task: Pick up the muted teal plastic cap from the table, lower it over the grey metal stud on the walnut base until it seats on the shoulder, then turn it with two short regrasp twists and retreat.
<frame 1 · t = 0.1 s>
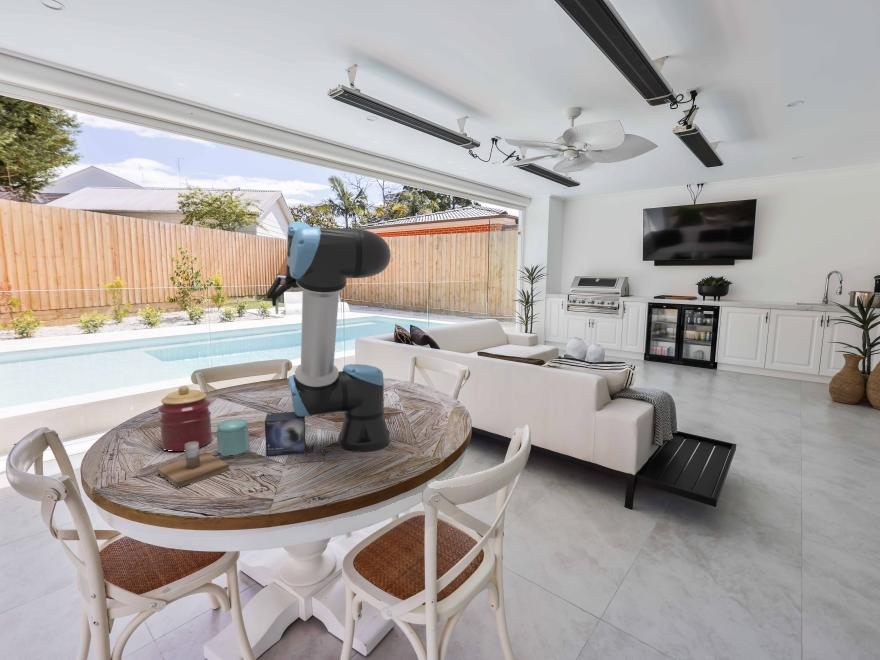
hand: (295, 311, 160), 36 cm above the table, tool tilted 35°, fingers open, 13 cm apart
small box: (286, 451, 120), on the table
canister: (187, 444, 124), on the table
post: (193, 471, 107), on the table
cap: (233, 450, 120), on the table
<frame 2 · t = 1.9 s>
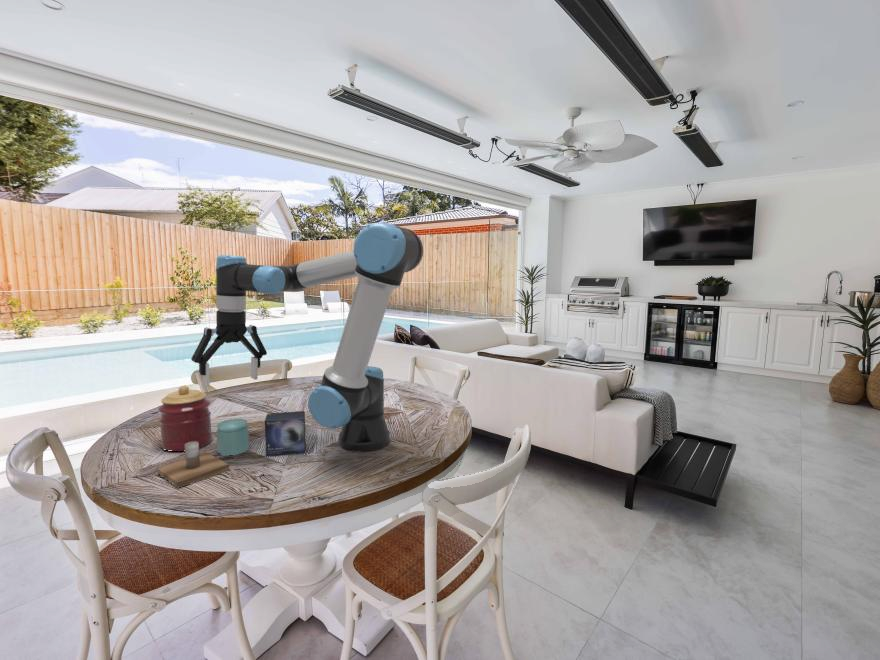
hand: (231, 382, 123), 18 cm above the table, tool pointing down, fingers open, 13 cm apart
nothing on the table moved.
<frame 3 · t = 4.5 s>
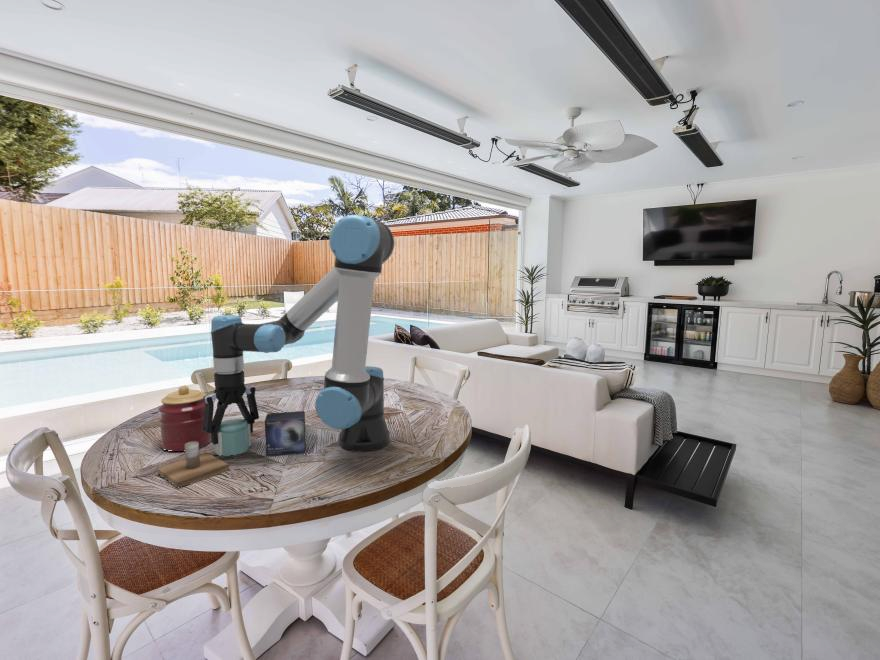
hand: (233, 449, 120), 0 cm above the table, tool pointing down, fingers closed on cap, 7 cm apart
cap: (233, 450, 120), on the table, touching gripper
everything else where it was.
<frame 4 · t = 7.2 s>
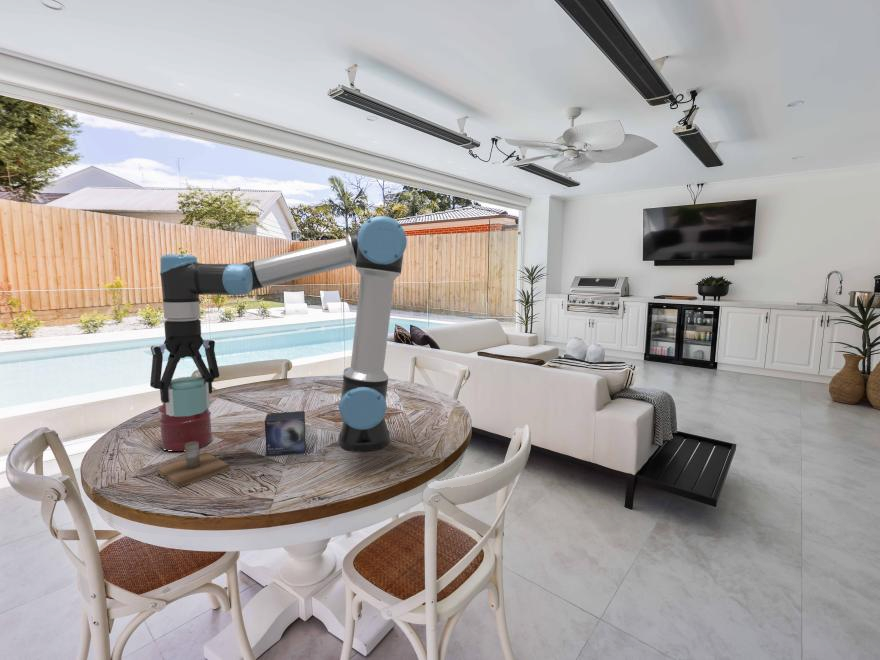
hand: (188, 410, 105), 16 cm above the table, tool pointing down, fingers closed on cap, 7 cm apart
cap: (188, 411, 105), point 16 cm above the table, touching gripper
everything else where it was.
when the fingers open (3 cm above the table, at t = 9.7 s): cap stays where it is, resting on post.
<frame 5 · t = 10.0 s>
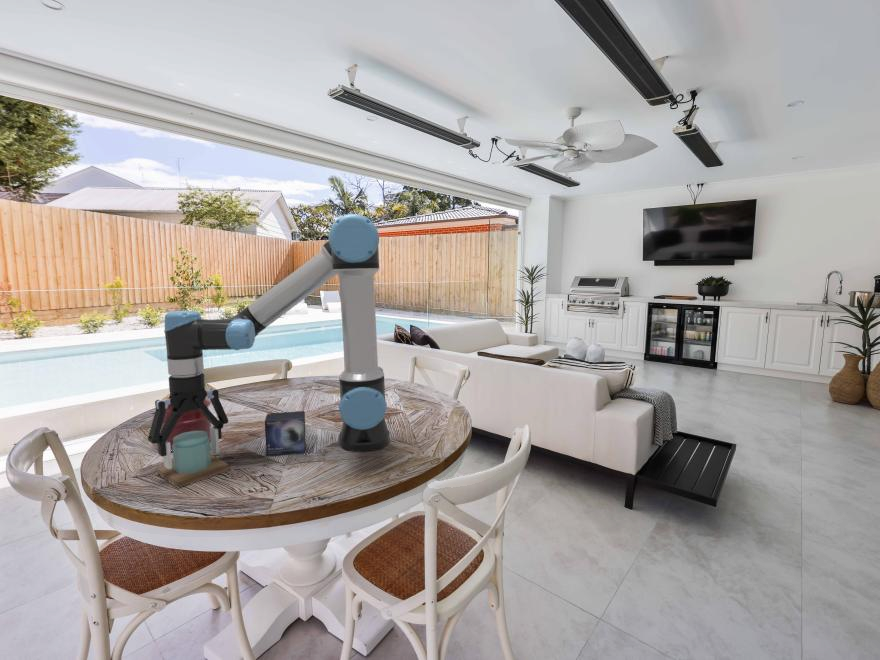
hand: (192, 459, 106), 3 cm above the table, tool pointing down, fingers open, 10 cm apart
cap: (193, 466, 107), point 1 cm above the table, touching post
everything else where it was.
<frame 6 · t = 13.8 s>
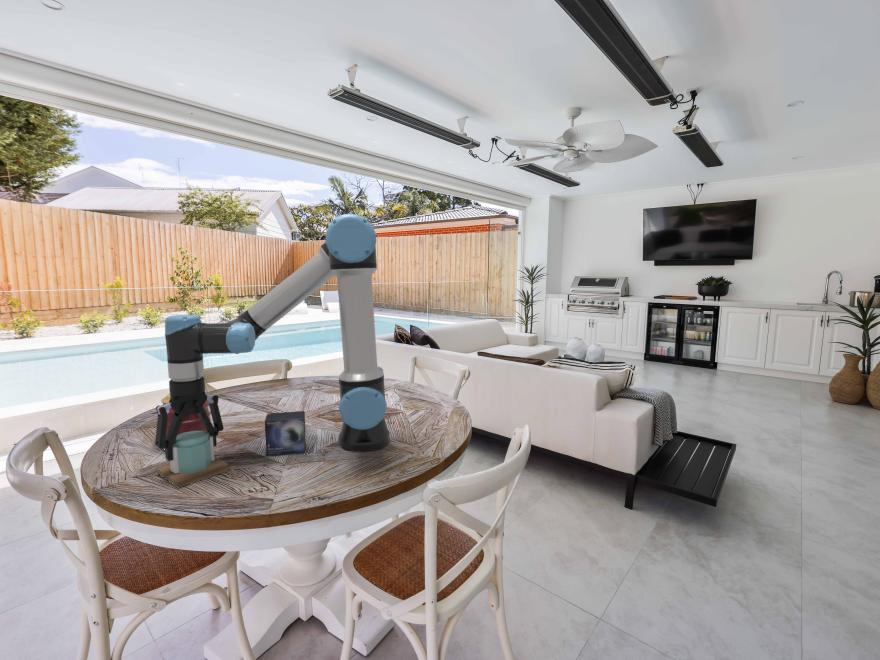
hand: (193, 465, 107), 2 cm above the table, tool pointing down, fingers closed on post, 8 cm apart
nothing on the table moved.
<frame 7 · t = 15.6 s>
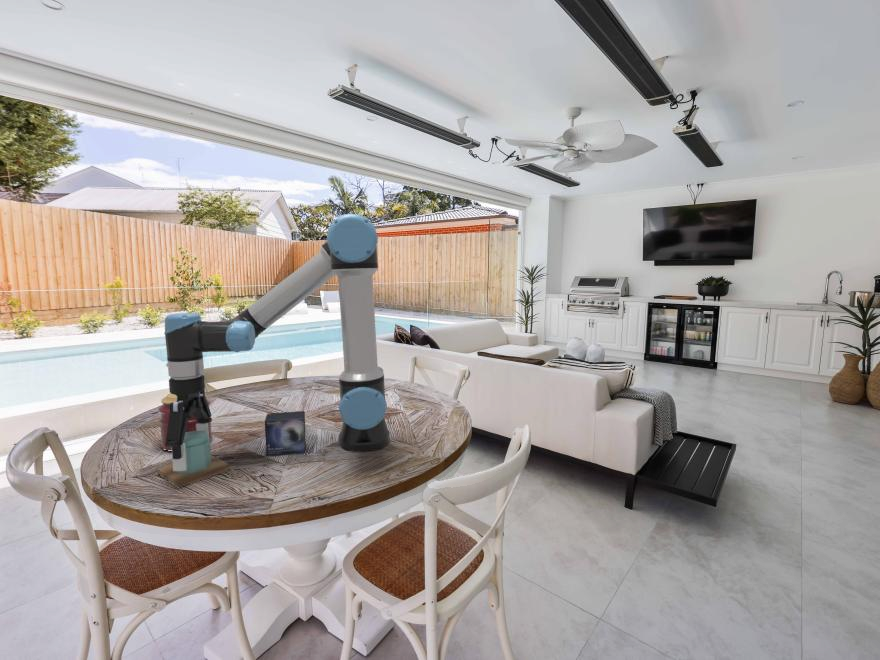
hand: (192, 458, 106), 4 cm above the table, tool pointing down, fingers open, 13 cm apart
nothing on the table moved.
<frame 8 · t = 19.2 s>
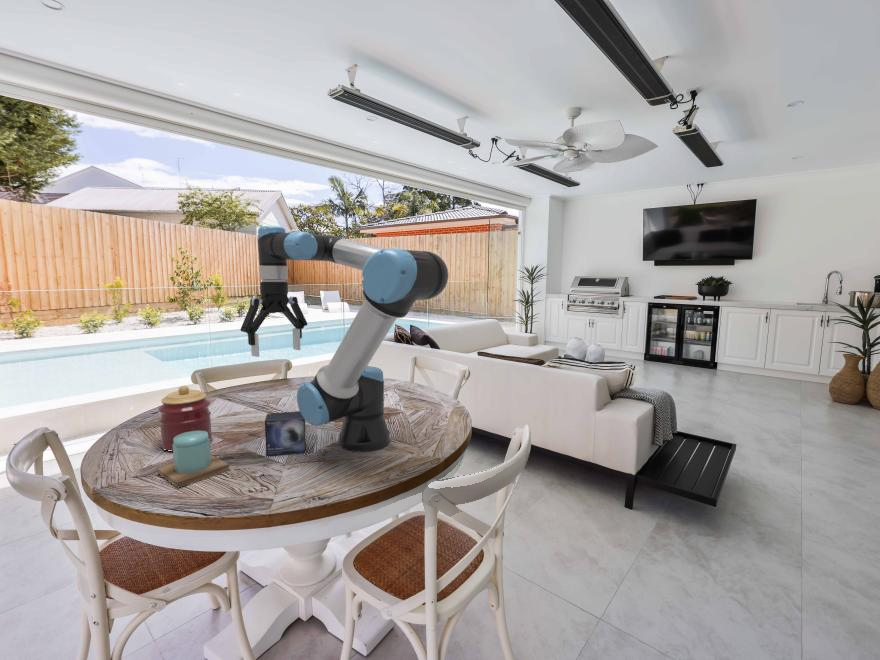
hand: (277, 352, 125), 27 cm above the table, tool pointing down, fingers open, 13 cm apart
nothing on the table moved.
at the end: cap 0.0 cm from the post (horizontally); cap point 1.5 cm above the table; the gripper is holding nothing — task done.
